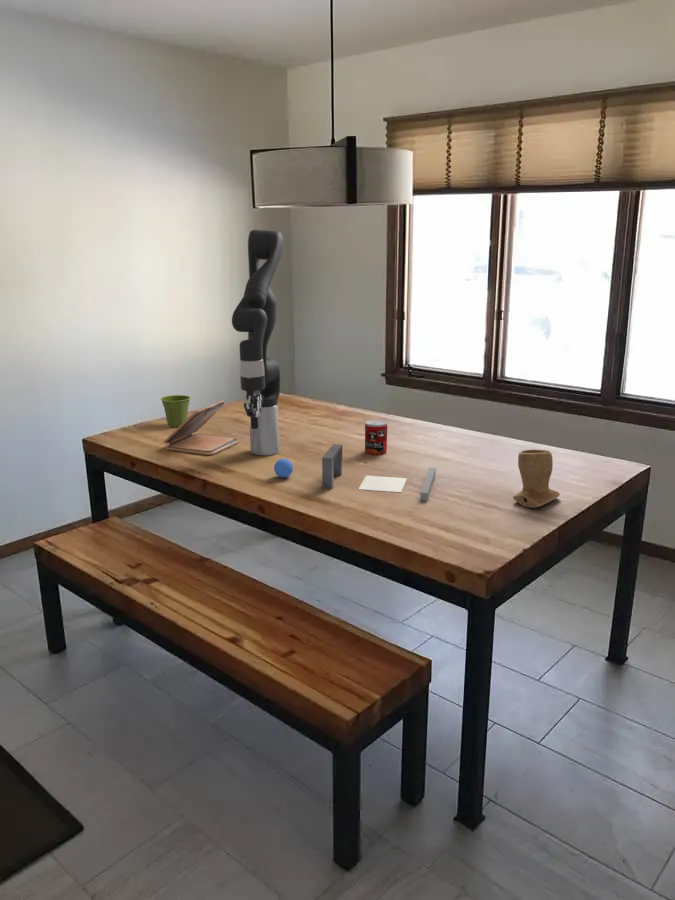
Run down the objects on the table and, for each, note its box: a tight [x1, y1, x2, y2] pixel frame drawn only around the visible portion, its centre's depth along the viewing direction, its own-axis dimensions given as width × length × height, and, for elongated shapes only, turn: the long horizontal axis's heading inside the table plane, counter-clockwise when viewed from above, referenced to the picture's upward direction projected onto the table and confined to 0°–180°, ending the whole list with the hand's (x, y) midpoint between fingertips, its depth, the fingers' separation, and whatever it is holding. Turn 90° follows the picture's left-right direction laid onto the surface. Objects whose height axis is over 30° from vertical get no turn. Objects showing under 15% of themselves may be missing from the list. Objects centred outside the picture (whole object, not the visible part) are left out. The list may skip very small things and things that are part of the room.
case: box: [163, 399, 240, 456], centre depth 273 cm, size 20×21×16 cm
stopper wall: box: [420, 467, 437, 502], centre depth 231 cm, size 2×24×2 cm, turn 167°
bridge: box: [321, 443, 343, 490], centre depth 236 cm, size 3×15×10 cm, turn 167°
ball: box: [273, 458, 294, 479], centre depth 240 cm, size 6×6×6 cm
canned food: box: [364, 419, 388, 456], centre depth 265 cm, size 8×8×11 cm
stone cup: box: [512, 448, 561, 509], centre depth 218 cm, size 15×12×15 cm
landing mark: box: [358, 475, 407, 494], centre depth 234 cm, size 13×13×1 cm
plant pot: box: [160, 394, 192, 428], centre depth 301 cm, size 12×12×11 cm
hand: (255, 428), depth 238 cm, fingers closed
